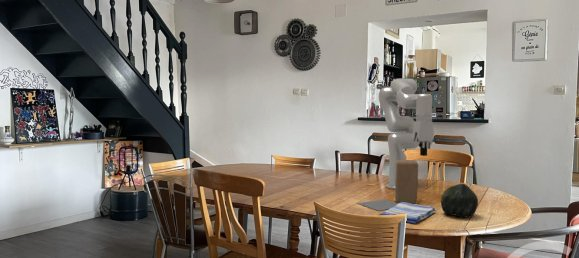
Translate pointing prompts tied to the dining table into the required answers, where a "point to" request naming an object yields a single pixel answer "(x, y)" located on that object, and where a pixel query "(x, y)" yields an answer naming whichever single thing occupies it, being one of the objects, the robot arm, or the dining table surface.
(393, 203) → the mat
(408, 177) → the wooden block
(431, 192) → the dining table surface
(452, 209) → the squash
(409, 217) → the dish towel
